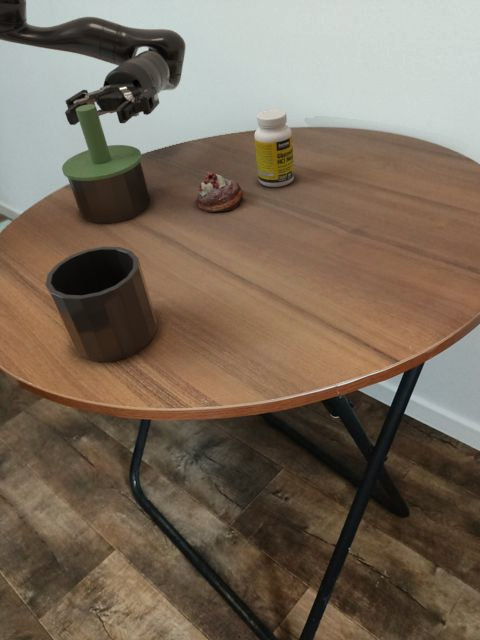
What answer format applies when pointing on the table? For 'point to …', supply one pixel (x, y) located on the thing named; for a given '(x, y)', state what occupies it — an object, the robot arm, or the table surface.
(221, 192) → the pastry
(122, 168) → the lid
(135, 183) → the tin
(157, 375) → the table surface
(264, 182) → the pill bottle
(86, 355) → the cup
